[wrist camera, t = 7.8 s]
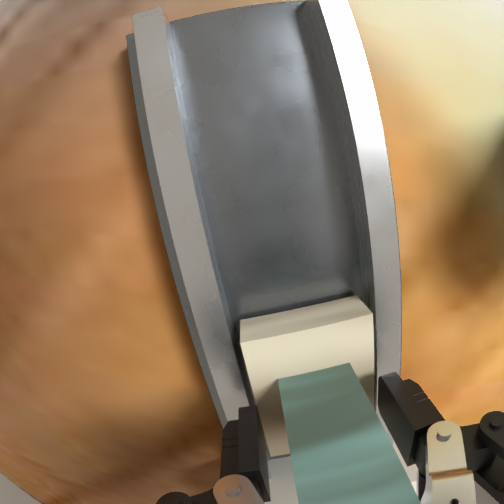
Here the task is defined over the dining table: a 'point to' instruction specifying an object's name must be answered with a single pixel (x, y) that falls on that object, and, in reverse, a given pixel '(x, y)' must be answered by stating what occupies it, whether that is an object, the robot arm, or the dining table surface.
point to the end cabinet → (284, 483)
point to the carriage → (324, 402)
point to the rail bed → (267, 175)
